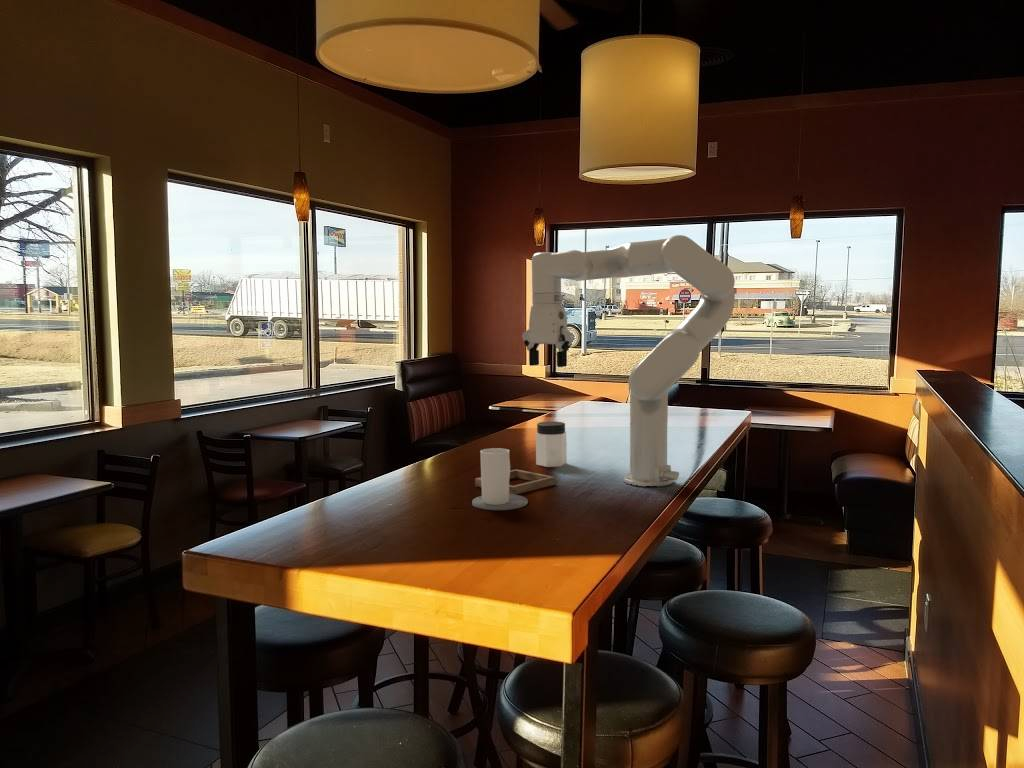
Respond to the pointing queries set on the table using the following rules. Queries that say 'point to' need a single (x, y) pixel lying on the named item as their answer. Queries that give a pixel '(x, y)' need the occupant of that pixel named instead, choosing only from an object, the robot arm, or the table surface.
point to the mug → (495, 476)
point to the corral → (536, 483)
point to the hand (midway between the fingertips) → (547, 366)
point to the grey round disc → (513, 503)
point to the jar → (551, 444)
